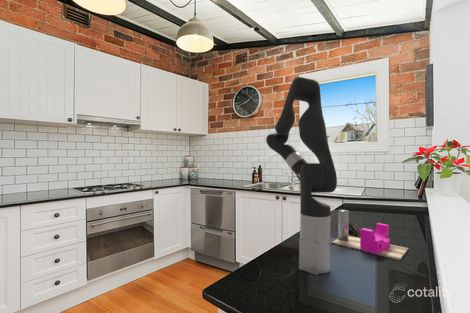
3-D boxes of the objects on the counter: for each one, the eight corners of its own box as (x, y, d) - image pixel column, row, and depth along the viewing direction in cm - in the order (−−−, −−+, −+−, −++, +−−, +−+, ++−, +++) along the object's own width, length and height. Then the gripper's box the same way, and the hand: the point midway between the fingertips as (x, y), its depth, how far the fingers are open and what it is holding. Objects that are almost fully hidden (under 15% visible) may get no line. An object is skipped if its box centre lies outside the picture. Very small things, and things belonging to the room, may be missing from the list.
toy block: (377, 254, 97) (377, 233, 97) (360, 249, 102) (360, 229, 102) (395, 245, 106) (395, 226, 106) (378, 241, 111) (379, 223, 111)
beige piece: (399, 260, 93) (400, 223, 93) (331, 243, 109) (331, 212, 109) (408, 249, 104) (408, 216, 103) (344, 236, 120) (345, 207, 120)
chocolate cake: (370, 238, 119) (359, 215, 127) (359, 235, 116) (349, 212, 125) (354, 248, 125) (345, 225, 133) (343, 245, 122) (334, 222, 130)
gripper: (294, 158, 120) (318, 186, 113) (309, 157, 131) (332, 183, 123) (284, 169, 124) (306, 198, 116) (299, 168, 134) (321, 194, 127)
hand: (320, 190), depth 120 cm, fingers open, 8 cm apart
